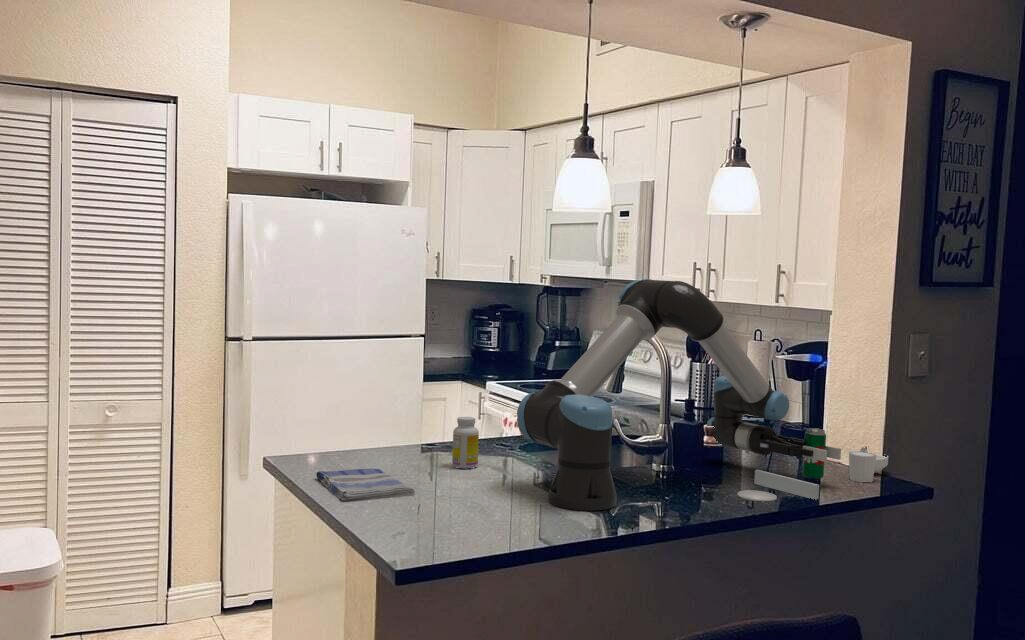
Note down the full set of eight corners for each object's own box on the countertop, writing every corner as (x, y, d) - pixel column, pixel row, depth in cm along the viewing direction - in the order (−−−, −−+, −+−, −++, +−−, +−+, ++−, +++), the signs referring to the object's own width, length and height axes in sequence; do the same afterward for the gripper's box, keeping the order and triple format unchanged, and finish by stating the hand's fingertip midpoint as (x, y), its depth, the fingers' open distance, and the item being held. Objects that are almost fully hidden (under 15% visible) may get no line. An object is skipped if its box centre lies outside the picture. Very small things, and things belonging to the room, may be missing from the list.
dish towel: (342, 505, 189) (342, 492, 189) (313, 480, 210) (313, 469, 210) (417, 498, 197) (417, 485, 197) (382, 475, 218) (382, 464, 218)
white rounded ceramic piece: (849, 474, 236) (850, 449, 236) (845, 466, 248) (847, 442, 247) (889, 478, 233) (891, 453, 233) (884, 469, 245) (886, 445, 244)
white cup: (877, 484, 226) (879, 457, 226) (849, 482, 227) (851, 455, 227) (872, 478, 233) (873, 452, 232) (845, 476, 234) (846, 450, 234)
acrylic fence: (754, 483, 221) (754, 470, 221) (756, 483, 222) (757, 469, 222) (815, 500, 207) (816, 485, 207) (818, 499, 207) (819, 484, 207)
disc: (733, 497, 206) (733, 495, 206) (743, 489, 214) (743, 488, 214) (772, 503, 202) (772, 501, 202) (780, 495, 210) (780, 494, 210)
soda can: (826, 477, 221) (829, 430, 220) (819, 480, 217) (822, 432, 216) (806, 473, 224) (809, 427, 224) (799, 476, 220) (802, 429, 220)
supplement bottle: (480, 465, 231) (481, 416, 230) (474, 470, 225) (476, 420, 224) (455, 463, 232) (457, 415, 232) (449, 468, 226) (451, 419, 225)
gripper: (777, 450, 240) (853, 467, 221) (733, 455, 230) (809, 473, 211) (778, 423, 240) (855, 437, 221) (735, 427, 229) (811, 442, 211)
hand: (832, 455), depth 216 cm, fingers closed on soda can, 5 cm apart
